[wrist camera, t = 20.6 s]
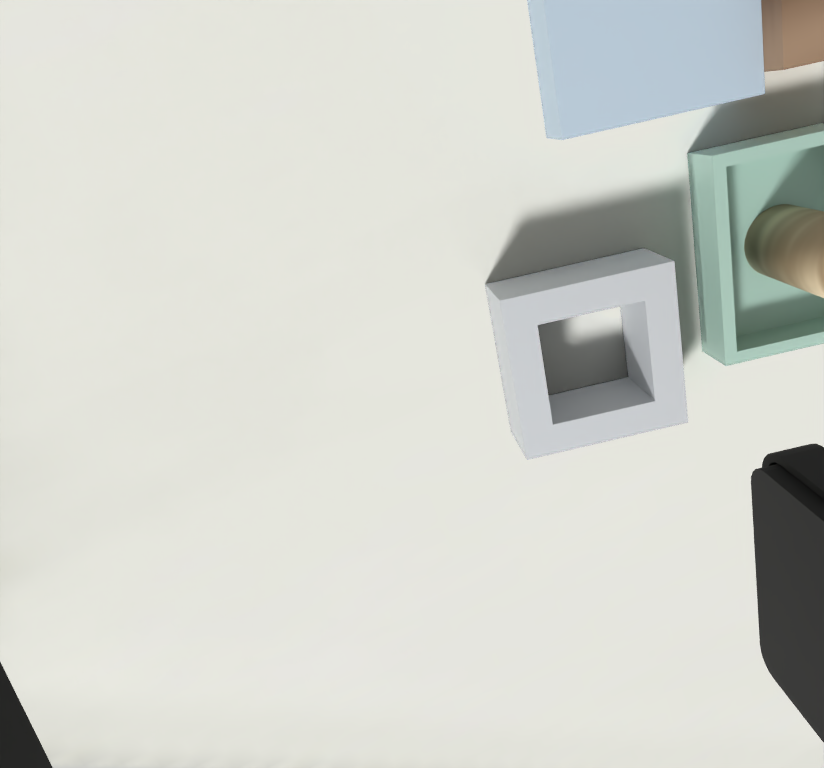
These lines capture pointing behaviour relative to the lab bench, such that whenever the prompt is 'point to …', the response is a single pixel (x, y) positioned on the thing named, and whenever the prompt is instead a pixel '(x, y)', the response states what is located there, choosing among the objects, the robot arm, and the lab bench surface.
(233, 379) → the lab bench surface
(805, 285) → the dowel
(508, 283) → the socket block
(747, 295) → the tray
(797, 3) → the block
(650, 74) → the board
